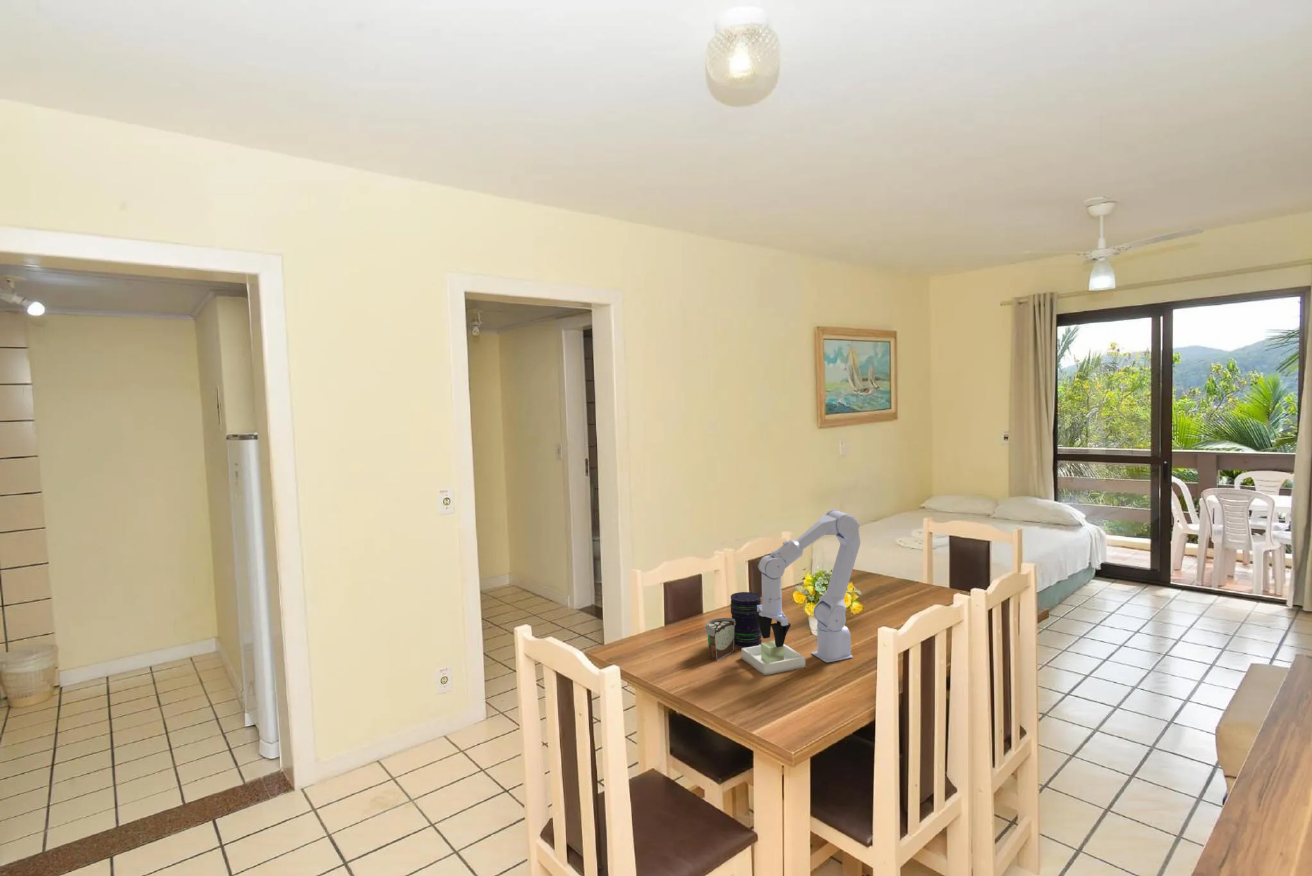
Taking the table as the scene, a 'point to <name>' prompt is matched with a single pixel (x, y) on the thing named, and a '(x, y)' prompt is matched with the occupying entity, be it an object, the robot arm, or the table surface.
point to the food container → (720, 637)
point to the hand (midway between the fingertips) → (772, 642)
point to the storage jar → (746, 619)
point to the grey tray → (789, 663)
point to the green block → (771, 652)
